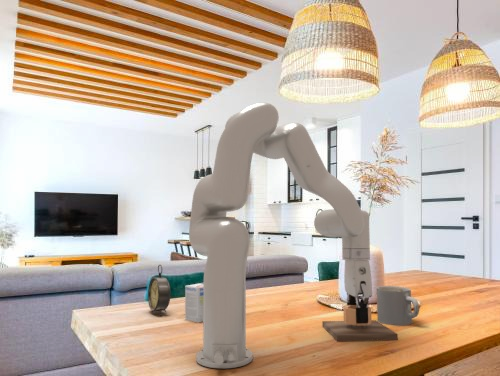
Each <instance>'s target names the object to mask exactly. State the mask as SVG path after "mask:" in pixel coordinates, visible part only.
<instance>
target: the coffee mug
mask: <svg viewBox="0 0 500 376" xmlns="http://www.w3.org/2000/svg"><path fill="white" fill-rule="evenodd" d="M412 306H413V307H412ZM412 308H413V311H412ZM376 311H377V312H376V314H377V317H376V319H377V321H378V322H379V323H381V324H382V325H388V326H389V325H390V326H396V327H397V326H399V327H400V326H403V327H404V326H405V327H406V326H409V325H412V323H413V320H412V319H414V318H416V317H418V315H419V313H420V304H419V301H418V299H416V298H415V297H413V296H412V289H411V288H409V287H405V286H397V285H395V286H394V285H383V286H377V287H376Z"/></svg>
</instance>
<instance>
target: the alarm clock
mask: <svg viewBox="0 0 500 376" xmlns="http://www.w3.org/2000/svg"><path fill="white" fill-rule="evenodd" d="M160 268H161V271H160ZM157 272H158V277H154V276H153V277H152V278H151V279H150V282H149V284H148V290H147V299H148V301H147V302H148V306H149V309H150V311H151V312H159V317H162V316H163V315H162V311H164V313H167V310H166V309H168V307H169V305H170V301H171V296H172V292H171V286H170V282H169V280H168V279H167V278H166V277H162V274H163V266H162V264H159V265H158V267H157Z"/></svg>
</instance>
